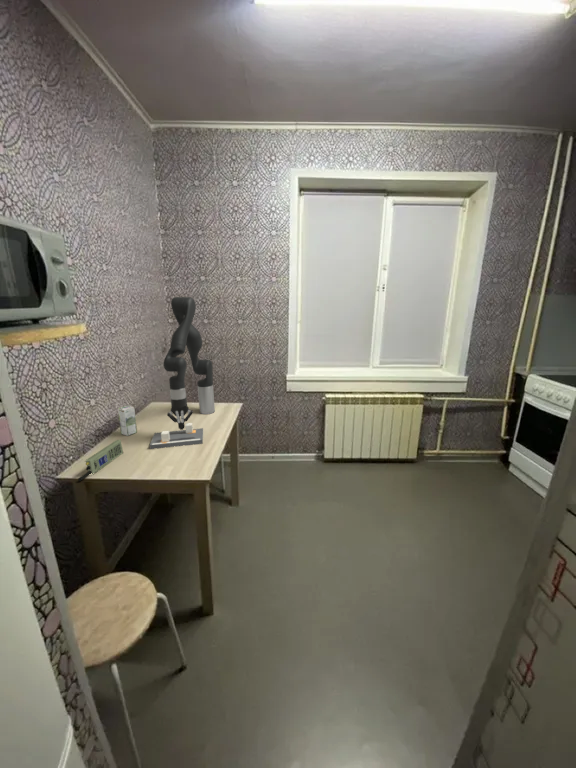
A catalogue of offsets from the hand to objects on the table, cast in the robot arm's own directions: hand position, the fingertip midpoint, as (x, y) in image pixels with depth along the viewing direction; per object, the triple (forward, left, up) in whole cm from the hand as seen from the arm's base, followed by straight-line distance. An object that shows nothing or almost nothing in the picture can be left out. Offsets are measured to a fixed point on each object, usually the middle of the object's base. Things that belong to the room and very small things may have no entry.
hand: (181, 429), depth 162 cm
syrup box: (-11, -28, -4) cm, 30 cm away
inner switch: (0, +4, -2) cm, 4 cm away
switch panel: (+4, -2, -4) cm, 6 cm away
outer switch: (+8, -7, -2) cm, 11 cm away
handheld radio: (+24, -31, -4) cm, 39 cm away
